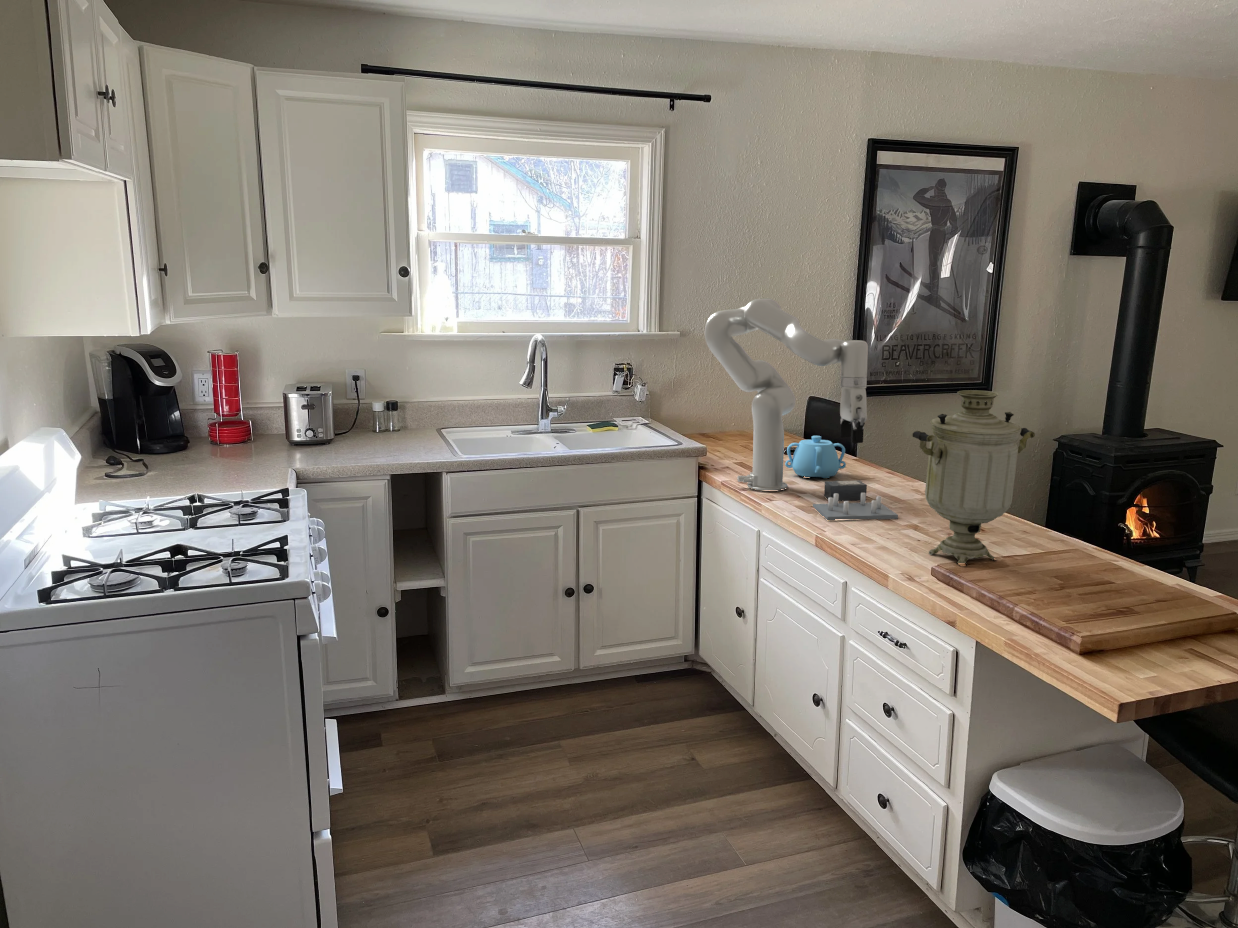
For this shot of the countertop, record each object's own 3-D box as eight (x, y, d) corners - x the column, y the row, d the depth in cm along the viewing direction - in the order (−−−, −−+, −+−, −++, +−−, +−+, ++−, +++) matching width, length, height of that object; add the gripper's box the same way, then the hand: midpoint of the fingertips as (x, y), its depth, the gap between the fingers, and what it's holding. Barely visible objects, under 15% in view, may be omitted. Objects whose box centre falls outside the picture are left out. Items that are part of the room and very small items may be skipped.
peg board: (827, 520, 252) (828, 504, 252) (812, 508, 266) (813, 492, 265) (897, 518, 254) (898, 502, 253) (879, 506, 268) (880, 490, 267)
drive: (830, 502, 274) (831, 485, 272) (824, 497, 279) (824, 480, 278) (866, 501, 275) (866, 484, 274) (859, 496, 280) (859, 479, 279)
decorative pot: (815, 468, 318) (817, 430, 315) (850, 477, 305) (851, 437, 302) (780, 474, 310) (781, 435, 307) (814, 483, 296) (815, 442, 294)
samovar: (996, 537, 236) (1009, 383, 228) (1046, 569, 211) (1062, 397, 202) (882, 539, 236) (891, 384, 227) (918, 572, 210) (929, 399, 202)
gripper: (877, 385, 261) (874, 444, 265) (854, 379, 278) (852, 434, 282) (851, 386, 260) (849, 445, 264) (830, 379, 277) (829, 435, 281)
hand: (851, 439), depth 273 cm, fingers open, 9 cm apart
